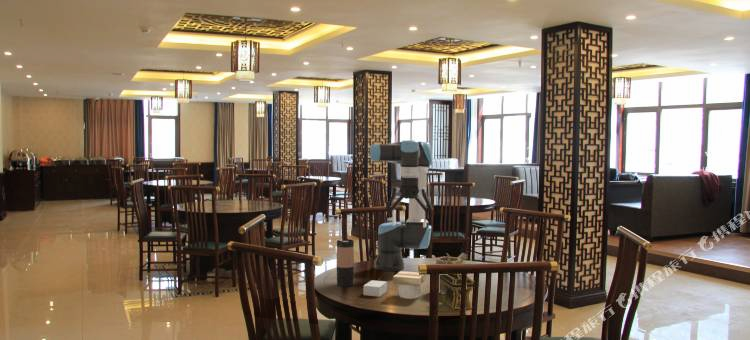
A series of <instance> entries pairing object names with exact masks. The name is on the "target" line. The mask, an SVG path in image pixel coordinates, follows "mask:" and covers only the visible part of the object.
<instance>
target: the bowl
mask: <svg viewBox="0 0 750 340" xmlns="http://www.w3.org/2000/svg"><path fill="white" fill-rule="evenodd" d="M398 295H399V296H398V297H399V298H401V299H406V300H416V299H419V298H420V297H421V285H420V286H412V285H401V284H398Z"/></svg>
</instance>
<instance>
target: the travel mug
mask: <svg viewBox="0 0 750 340" xmlns="http://www.w3.org/2000/svg"><path fill="white" fill-rule="evenodd" d="M354 241H355V240H353V239H351V238H350V239H349V238H347V239H345V238H344V239H342V240H339V239H337V240H336V285H337V287H340V288H349V287H350V286H351V287H353V286H354V275H355V274H354V271H355V270H354V269H355V263H354V261H355V258H354V257H355V253H354V252H355V251H354V249H355V247H354V245H355V244H354V243H355V242H354Z"/></svg>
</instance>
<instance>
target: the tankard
mask: <svg viewBox="0 0 750 340" xmlns="http://www.w3.org/2000/svg"><path fill="white" fill-rule="evenodd" d="M466 255H467V254H466V253H464V252H462V253H460V255H458V256H457V257H453V256H450V259H451V263H450V264H452V262H455V263H456V264H457V263H459V262H460V261H461V260H463V259H465V257H467V258H468V255H467V256H466ZM435 260H436V261H435V264H446V263H447V261H448V256H440V257H437V258H435ZM461 263H462V264H463V261H462V262H461ZM440 293H444V294H445V286H444V284H443V282H442V281H441V280H440Z"/></svg>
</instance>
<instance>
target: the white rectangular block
mask: <svg viewBox="0 0 750 340" xmlns="http://www.w3.org/2000/svg"><path fill="white" fill-rule="evenodd" d="M387 289H388V281H384V280H374V279H372V280H369V281H368V282H367V283H365V284H364V285H363V296H370V297H379V298H380V297H381V296H383V294H385V293H386V292H387V291H388V290H387Z"/></svg>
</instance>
